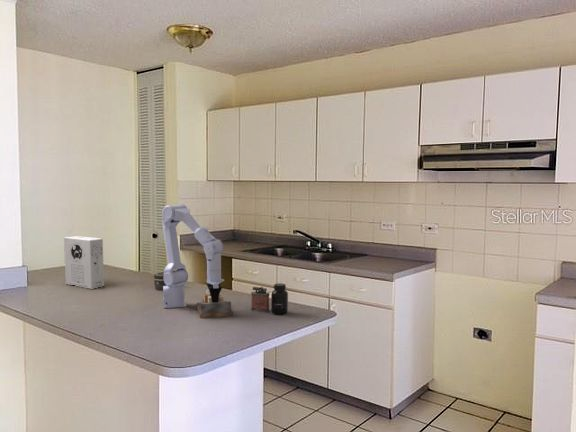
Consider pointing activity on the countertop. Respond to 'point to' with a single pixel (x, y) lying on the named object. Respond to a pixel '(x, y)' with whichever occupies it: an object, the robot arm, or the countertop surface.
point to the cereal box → (84, 261)
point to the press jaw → (207, 295)
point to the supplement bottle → (279, 300)
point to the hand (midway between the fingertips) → (214, 301)
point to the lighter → (260, 300)
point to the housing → (218, 299)
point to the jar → (159, 281)
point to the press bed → (214, 309)
